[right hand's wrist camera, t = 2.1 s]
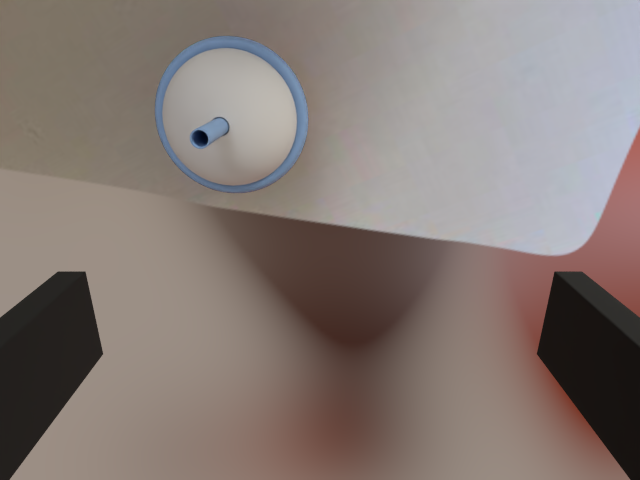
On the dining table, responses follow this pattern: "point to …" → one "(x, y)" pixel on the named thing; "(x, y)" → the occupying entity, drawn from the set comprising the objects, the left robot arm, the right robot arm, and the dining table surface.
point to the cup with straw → (231, 114)
